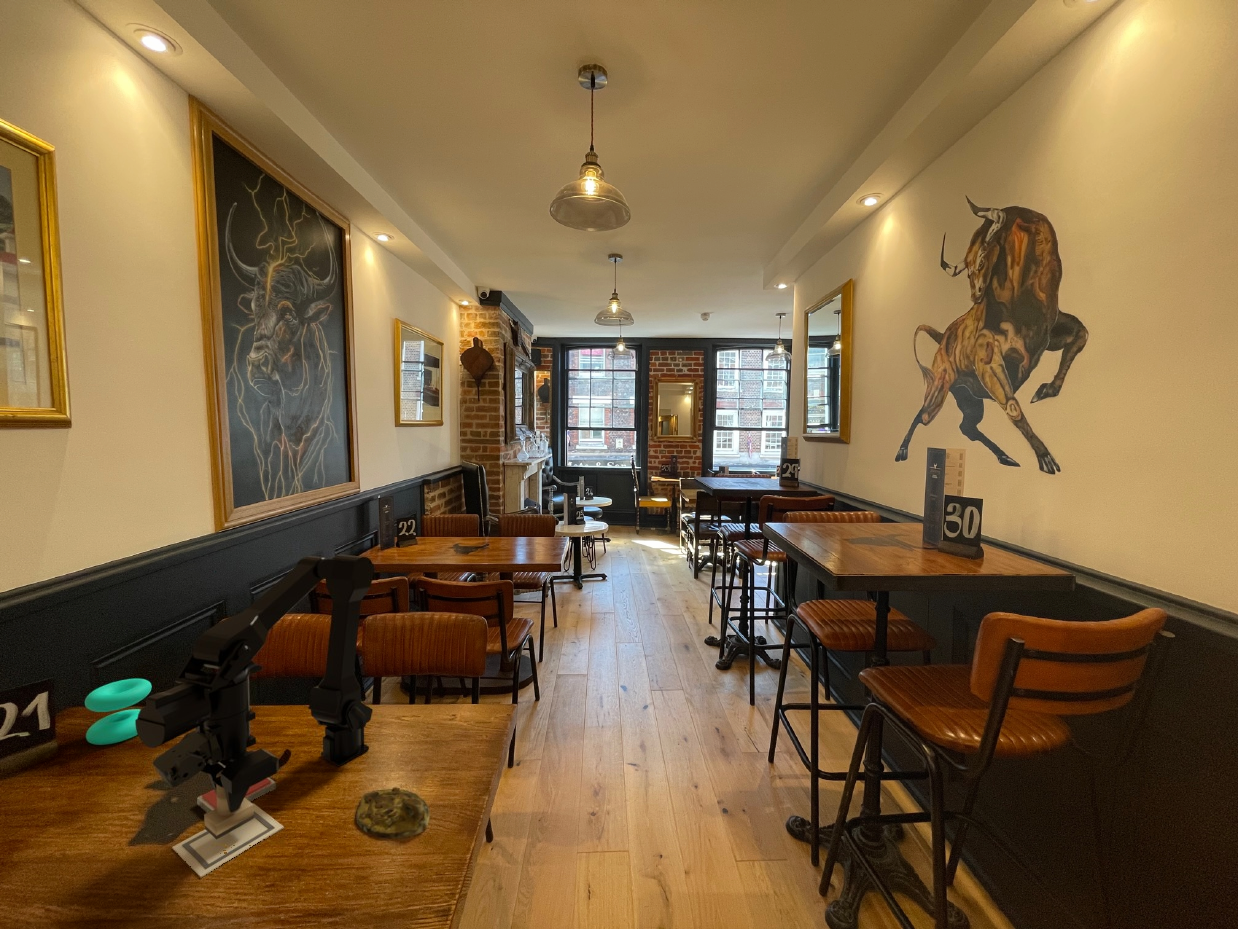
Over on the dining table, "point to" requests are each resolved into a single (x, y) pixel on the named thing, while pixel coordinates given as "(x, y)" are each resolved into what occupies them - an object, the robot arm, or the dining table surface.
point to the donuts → (114, 699)
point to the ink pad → (255, 791)
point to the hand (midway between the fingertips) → (229, 806)
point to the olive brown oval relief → (392, 813)
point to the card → (209, 858)
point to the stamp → (227, 815)
